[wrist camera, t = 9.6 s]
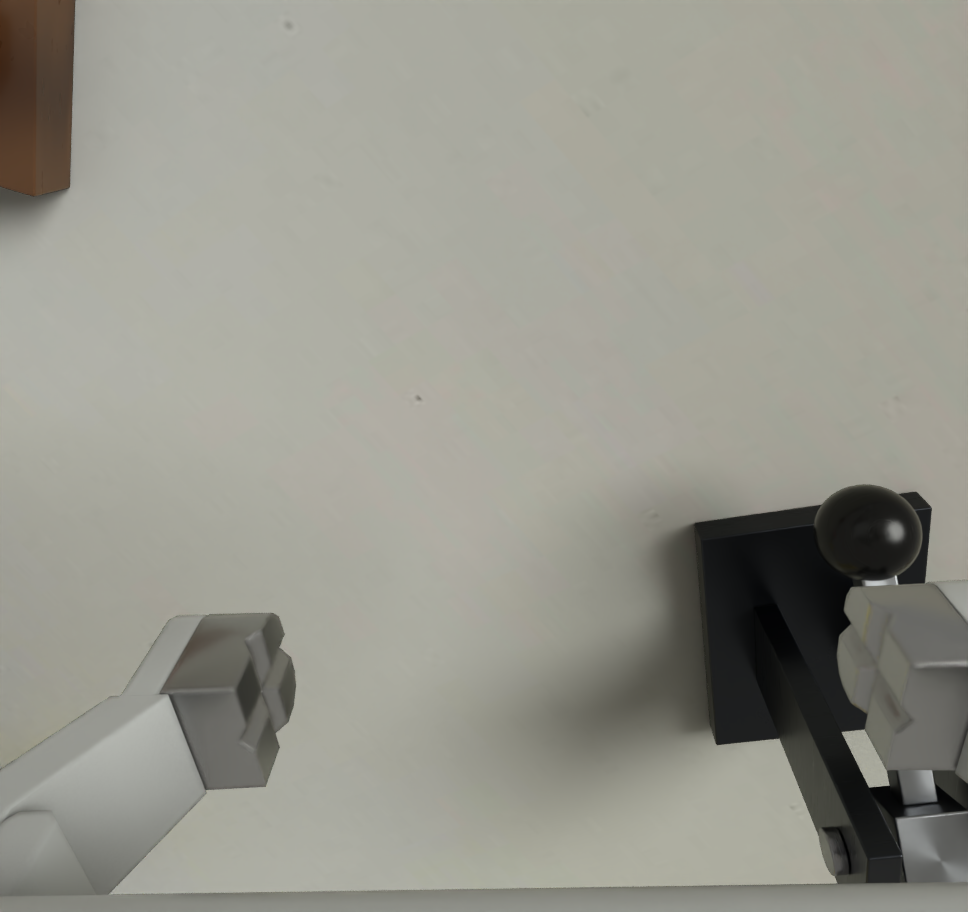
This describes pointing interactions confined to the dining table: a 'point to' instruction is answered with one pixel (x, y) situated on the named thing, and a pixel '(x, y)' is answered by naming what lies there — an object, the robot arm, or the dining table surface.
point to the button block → (36, 94)
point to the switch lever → (878, 561)
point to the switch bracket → (797, 673)
